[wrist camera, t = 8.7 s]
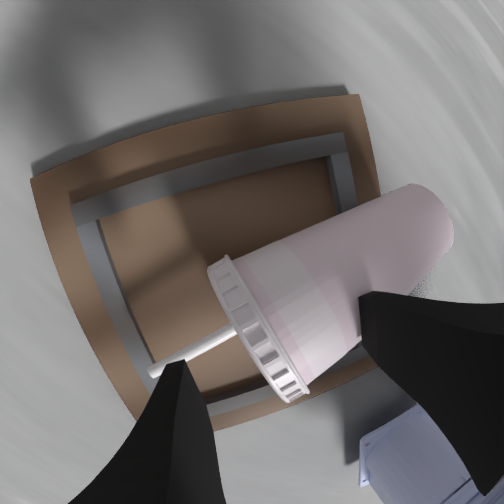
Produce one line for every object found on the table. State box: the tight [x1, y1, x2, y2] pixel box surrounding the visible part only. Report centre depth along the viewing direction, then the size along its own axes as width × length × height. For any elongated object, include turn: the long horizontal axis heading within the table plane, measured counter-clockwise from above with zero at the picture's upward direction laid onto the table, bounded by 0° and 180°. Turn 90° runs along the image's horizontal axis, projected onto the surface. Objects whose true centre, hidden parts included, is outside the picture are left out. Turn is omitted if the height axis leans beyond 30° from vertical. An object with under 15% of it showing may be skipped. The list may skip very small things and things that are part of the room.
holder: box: [30, 94, 381, 432], centre depth 15 cm, size 17×17×1 cm
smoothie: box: [147, 184, 454, 403], centre depth 12 cm, size 6×6×14 cm
